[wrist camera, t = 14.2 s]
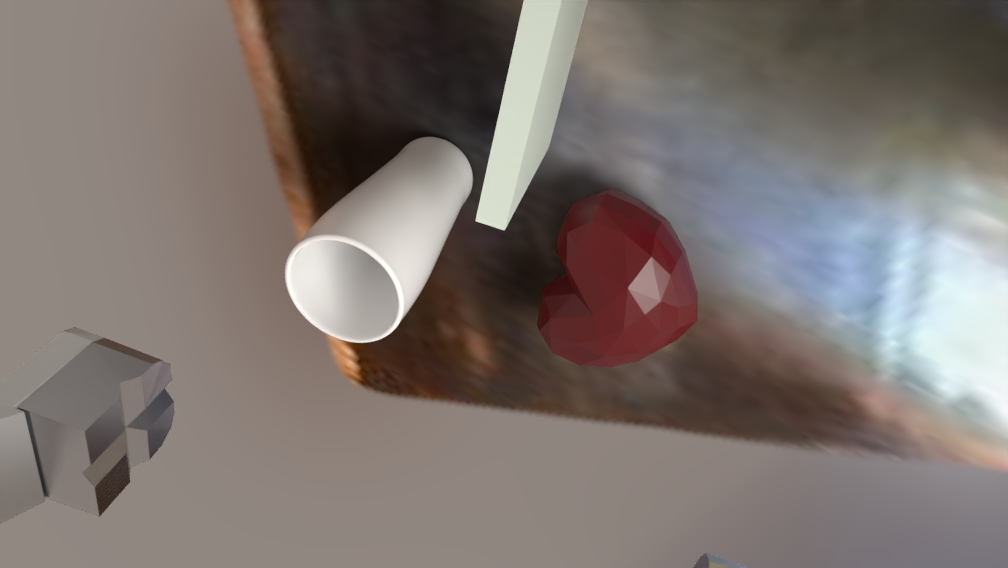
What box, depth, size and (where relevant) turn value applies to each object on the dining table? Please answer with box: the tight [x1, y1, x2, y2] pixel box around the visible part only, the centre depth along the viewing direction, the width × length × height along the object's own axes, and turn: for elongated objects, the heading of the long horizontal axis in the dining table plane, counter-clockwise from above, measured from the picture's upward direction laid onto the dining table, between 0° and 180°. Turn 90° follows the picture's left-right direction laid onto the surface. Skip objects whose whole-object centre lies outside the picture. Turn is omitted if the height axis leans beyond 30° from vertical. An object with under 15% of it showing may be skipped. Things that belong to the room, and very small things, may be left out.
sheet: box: [476, 0, 588, 231], centre depth 41 cm, size 12×2×11 cm, turn 168°
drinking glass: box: [285, 137, 473, 343], centre depth 45 cm, size 7×7×15 cm
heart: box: [537, 188, 698, 368], centre depth 48 cm, size 12×8×10 cm
